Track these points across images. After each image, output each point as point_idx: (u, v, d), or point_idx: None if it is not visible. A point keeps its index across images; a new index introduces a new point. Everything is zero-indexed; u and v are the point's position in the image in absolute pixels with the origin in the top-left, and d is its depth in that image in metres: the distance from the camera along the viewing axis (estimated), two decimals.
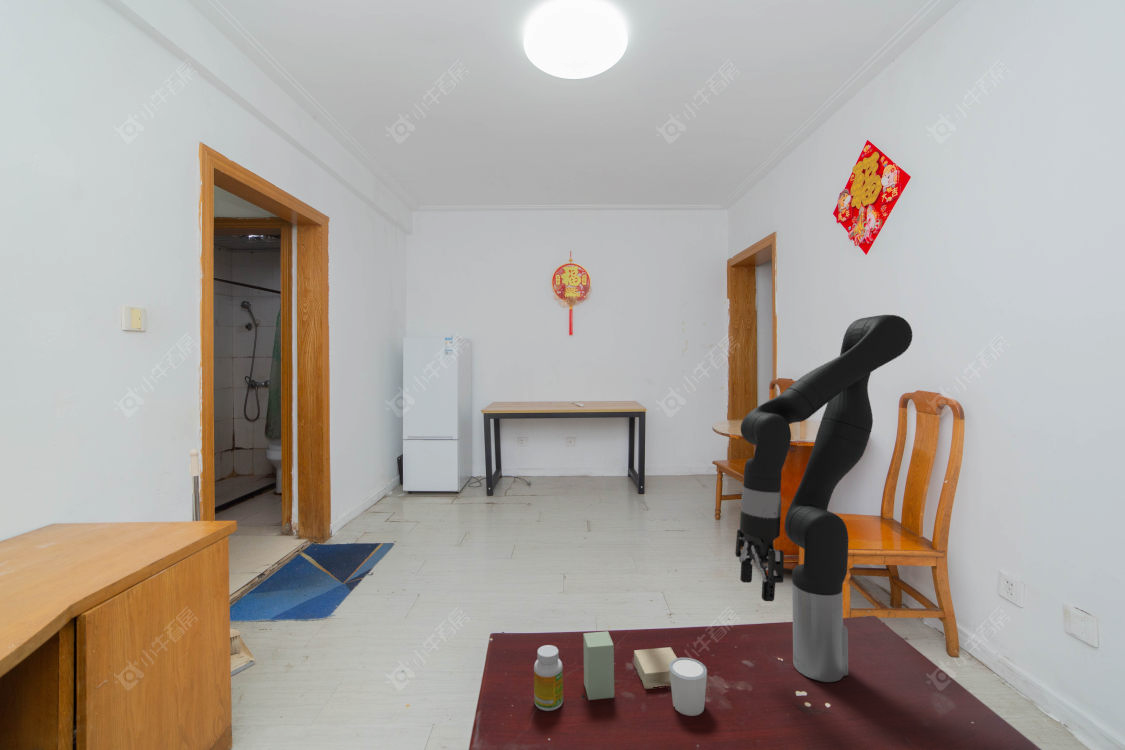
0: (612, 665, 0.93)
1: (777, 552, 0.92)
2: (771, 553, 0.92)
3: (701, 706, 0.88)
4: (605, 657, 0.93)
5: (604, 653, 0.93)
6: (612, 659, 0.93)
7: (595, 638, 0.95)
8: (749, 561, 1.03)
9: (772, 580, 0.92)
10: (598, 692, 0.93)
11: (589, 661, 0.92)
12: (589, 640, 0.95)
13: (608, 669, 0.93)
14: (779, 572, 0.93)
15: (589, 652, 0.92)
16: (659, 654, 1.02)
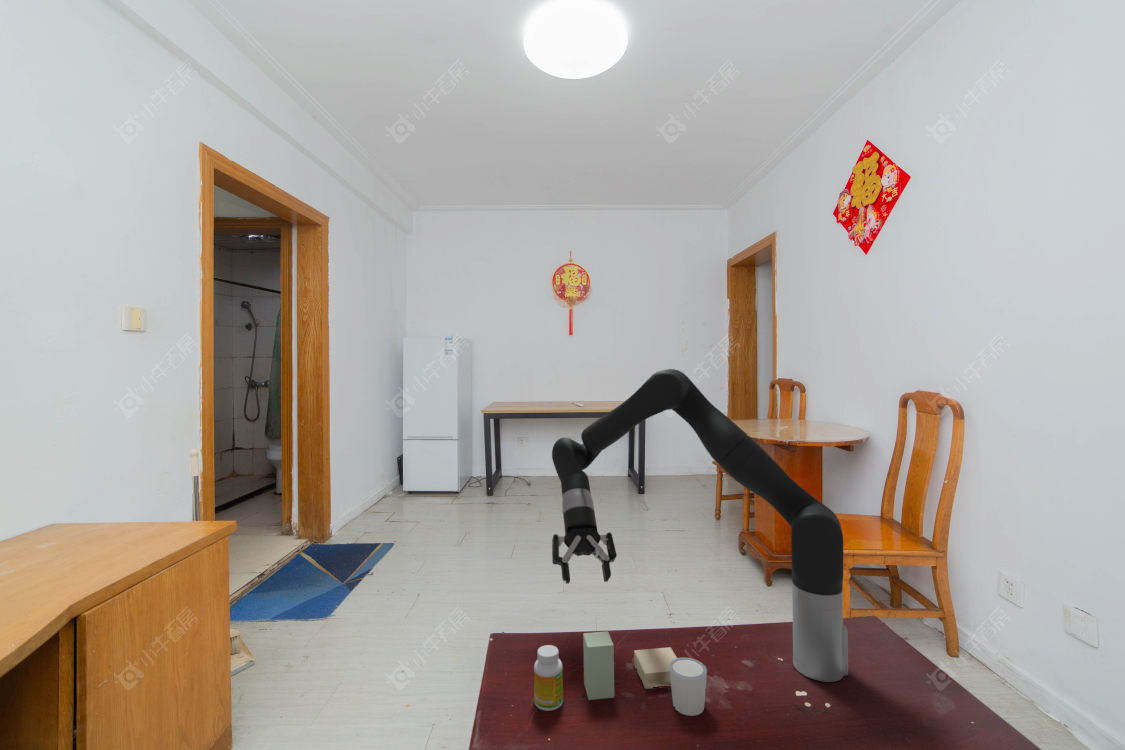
0: (612, 665, 0.93)
1: None
2: None
3: (701, 706, 0.88)
4: (605, 657, 0.93)
5: (604, 653, 0.93)
6: (612, 659, 0.93)
7: (595, 638, 0.95)
8: (603, 559, 1.09)
9: (552, 561, 1.09)
10: (598, 692, 0.93)
11: (589, 661, 0.92)
12: (589, 640, 0.95)
13: (608, 669, 0.93)
14: None
15: (589, 652, 0.92)
16: (659, 654, 1.02)
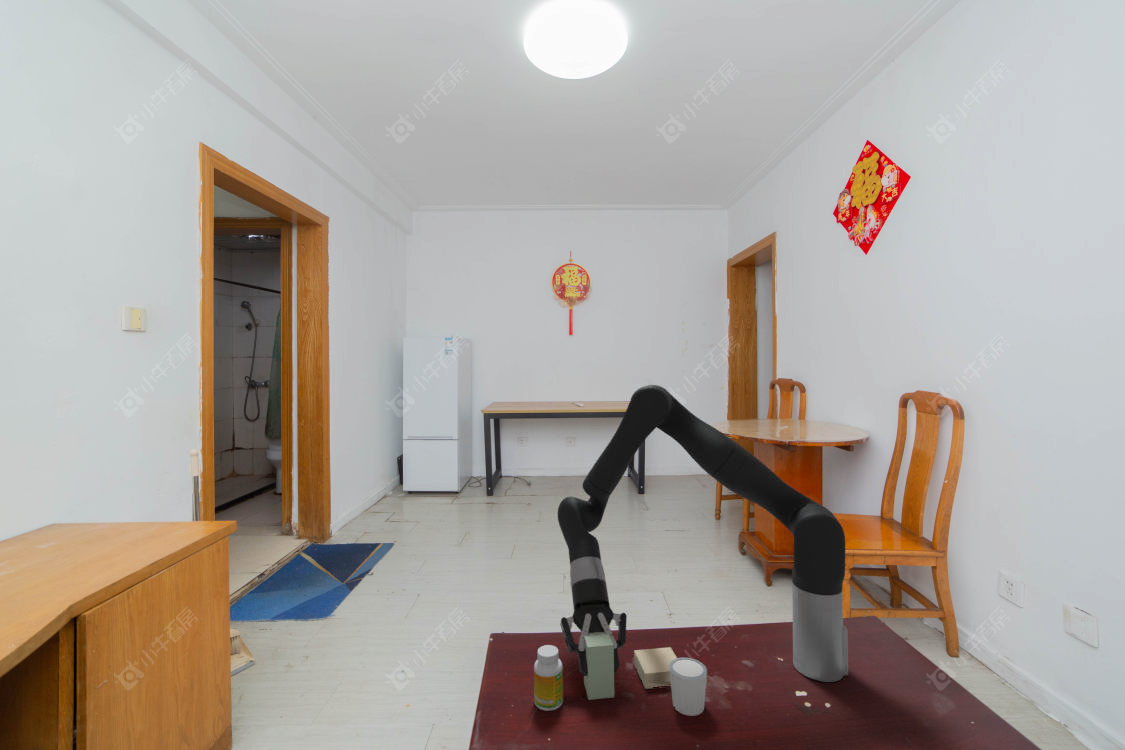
0: (612, 665, 0.93)
1: None
2: None
3: (701, 706, 0.88)
4: (605, 657, 0.93)
5: (604, 653, 0.93)
6: (612, 659, 0.93)
7: (595, 638, 0.95)
8: None
9: (568, 648, 0.97)
10: (598, 692, 0.93)
11: (589, 661, 0.92)
12: (589, 640, 0.95)
13: (607, 669, 0.93)
14: None
15: (589, 651, 0.92)
16: (659, 654, 1.02)
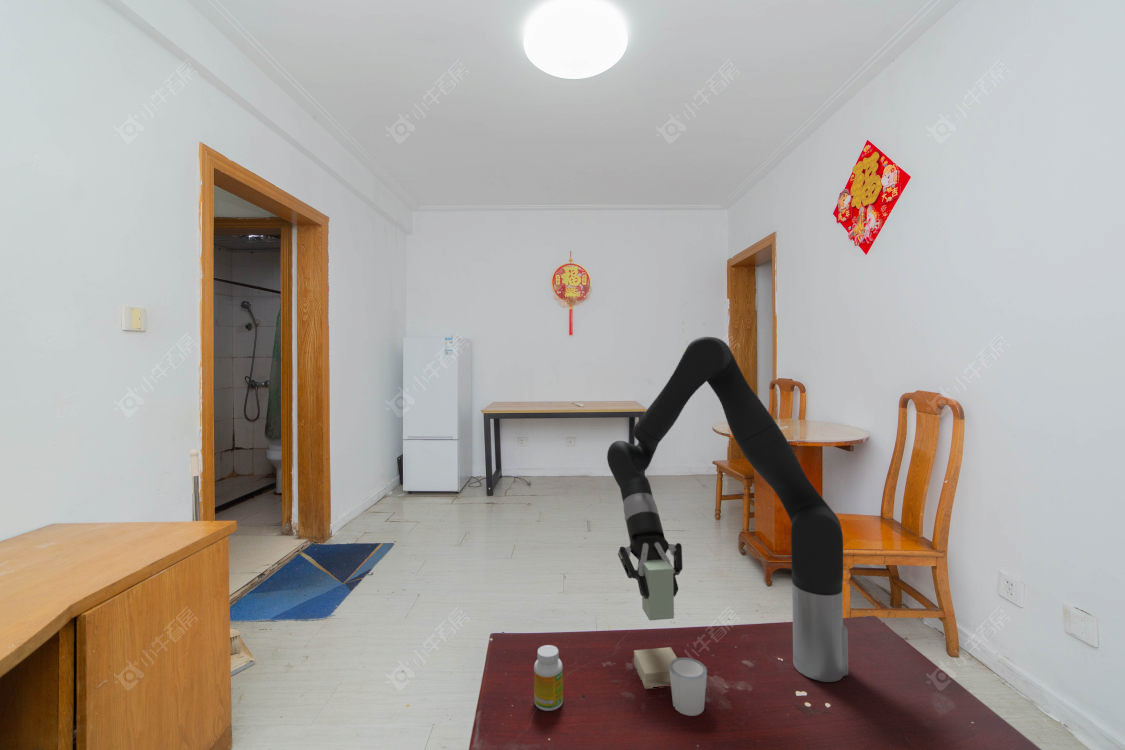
0: (672, 587, 0.97)
1: None
2: None
3: (701, 706, 0.88)
4: (665, 580, 0.97)
5: (664, 576, 0.97)
6: (672, 582, 0.97)
7: (654, 564, 1.00)
8: None
9: (627, 575, 1.01)
10: (659, 613, 0.97)
11: (650, 583, 0.97)
12: (649, 565, 0.99)
13: (667, 592, 0.97)
14: None
15: (650, 574, 0.97)
16: (659, 654, 1.02)
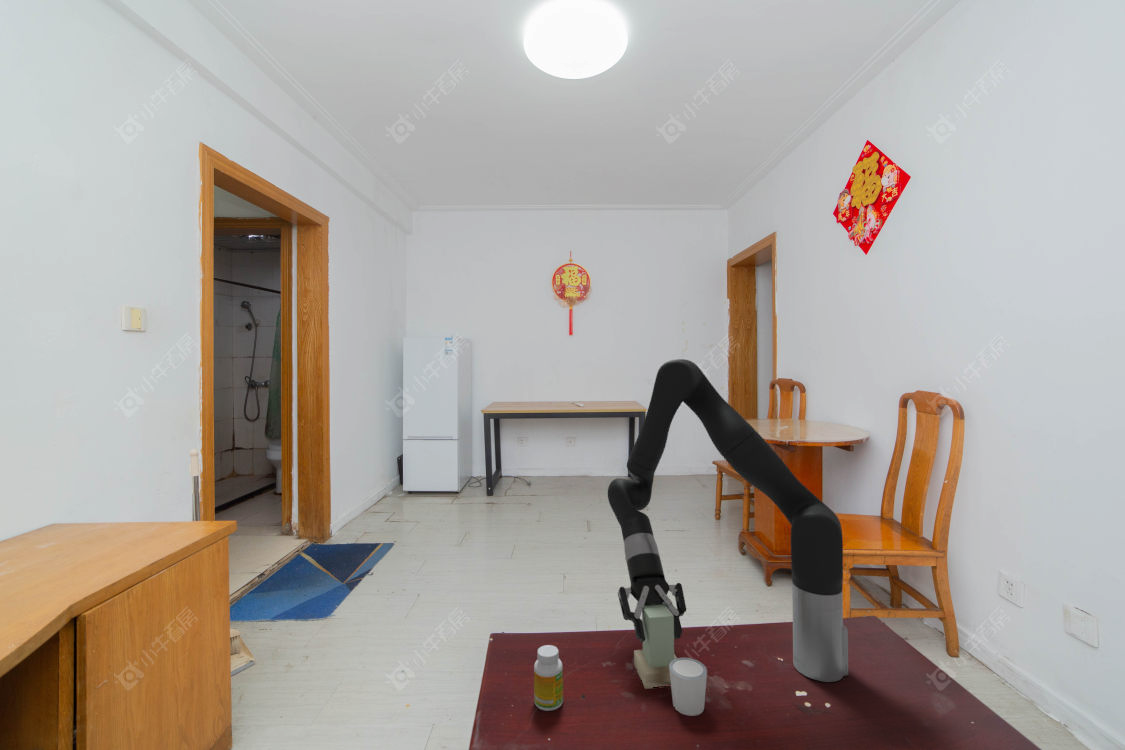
0: (672, 635, 0.98)
1: None
2: None
3: (701, 706, 0.88)
4: (665, 628, 0.97)
5: (665, 623, 0.97)
6: (672, 629, 0.98)
7: (654, 610, 1.00)
8: None
9: (623, 616, 1.01)
10: (659, 660, 0.97)
11: (651, 631, 0.97)
12: (649, 612, 0.99)
13: (668, 639, 0.97)
14: None
15: (651, 622, 0.97)
16: None
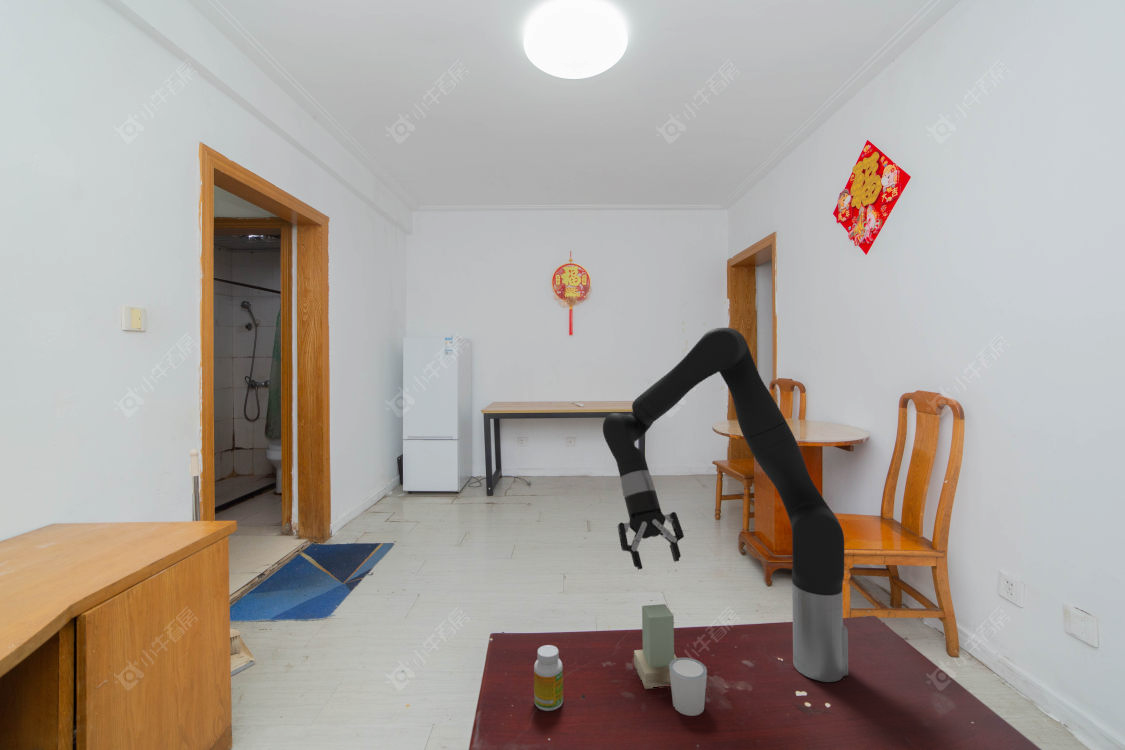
0: (672, 635, 0.98)
1: None
2: None
3: (701, 706, 0.88)
4: (665, 628, 0.97)
5: (665, 623, 0.97)
6: (672, 629, 0.98)
7: (654, 610, 1.00)
8: (671, 541, 1.11)
9: (621, 548, 1.11)
10: (659, 660, 0.97)
11: (651, 631, 0.97)
12: (649, 612, 0.99)
13: (668, 639, 0.97)
14: None
15: (651, 622, 0.97)
16: None
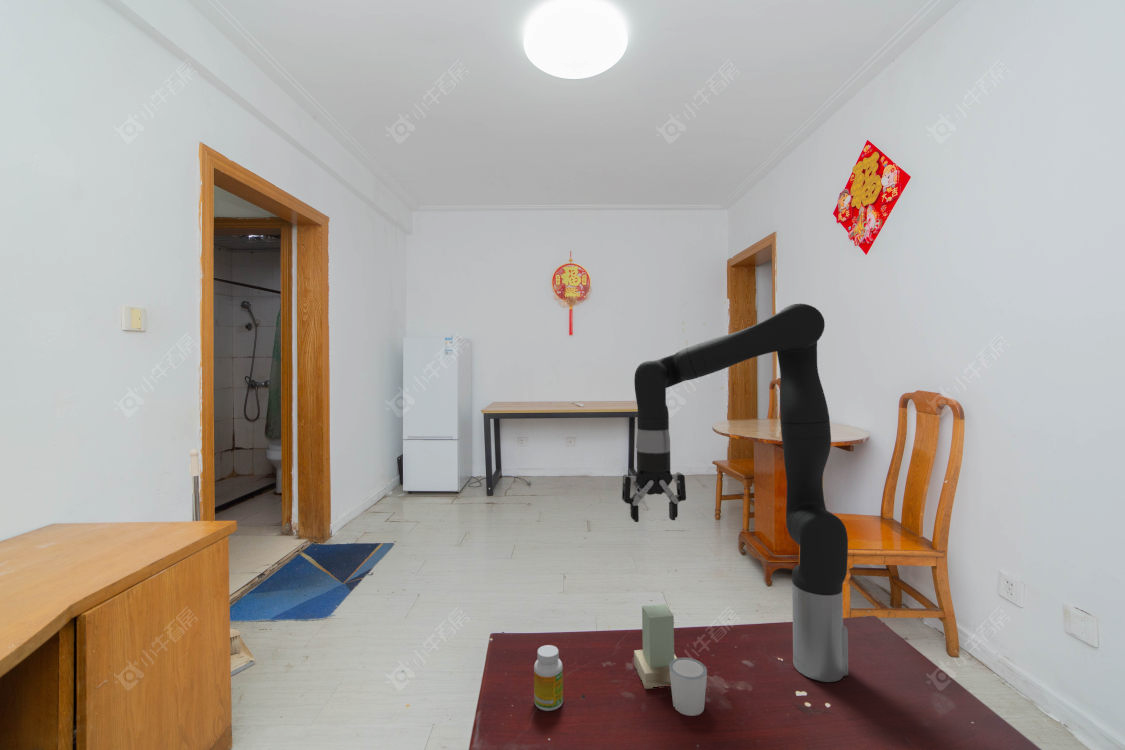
0: (672, 635, 0.98)
1: (624, 476, 1.10)
2: None
3: (701, 706, 0.88)
4: (665, 628, 0.97)
5: (665, 623, 0.97)
6: (672, 629, 0.98)
7: (654, 610, 1.00)
8: (672, 500, 1.11)
9: (622, 498, 1.11)
10: (659, 660, 0.97)
11: (651, 631, 0.97)
12: (649, 612, 0.99)
13: (668, 639, 0.97)
14: None
15: (651, 622, 0.97)
16: None
